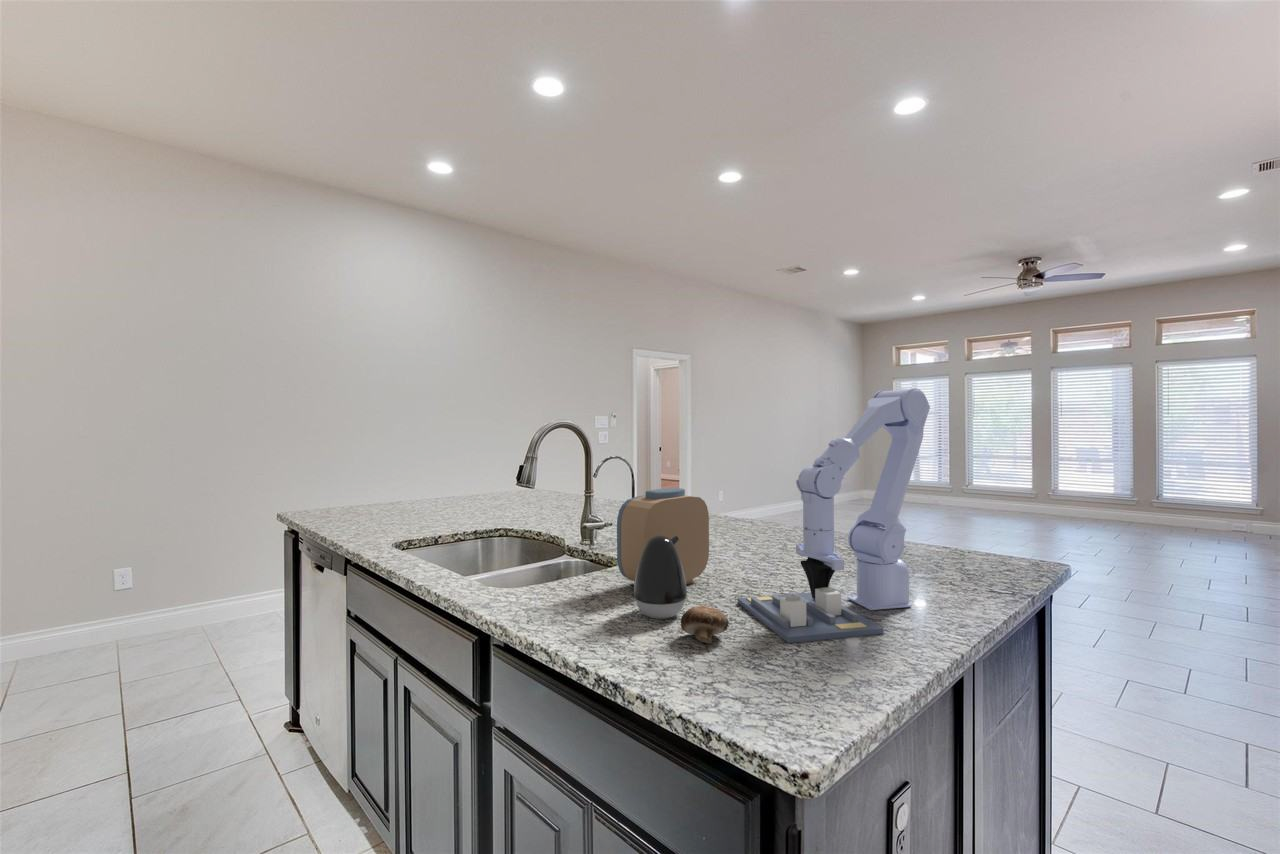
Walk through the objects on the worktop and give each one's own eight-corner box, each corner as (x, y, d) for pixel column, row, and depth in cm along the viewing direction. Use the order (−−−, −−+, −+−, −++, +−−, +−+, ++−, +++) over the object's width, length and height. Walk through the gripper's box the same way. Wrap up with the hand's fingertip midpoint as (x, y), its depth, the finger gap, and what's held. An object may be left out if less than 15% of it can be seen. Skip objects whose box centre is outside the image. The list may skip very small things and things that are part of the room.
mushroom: (713, 634, 91) (709, 596, 95) (672, 644, 95) (670, 607, 99) (738, 646, 96) (734, 609, 100) (699, 655, 100) (696, 619, 104)
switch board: (817, 596, 122) (817, 586, 122) (883, 633, 100) (883, 621, 100) (737, 603, 118) (737, 592, 118) (788, 643, 96) (788, 629, 96)
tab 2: (829, 608, 111) (829, 584, 111) (841, 615, 107) (841, 590, 107) (815, 609, 110) (815, 585, 110) (826, 616, 106) (826, 591, 106)
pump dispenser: (698, 613, 111) (698, 535, 111) (663, 627, 104) (662, 543, 104) (658, 602, 118) (658, 528, 118) (622, 615, 111) (622, 536, 111)
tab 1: (795, 618, 105) (795, 592, 105) (806, 625, 101) (806, 599, 101) (780, 619, 105) (780, 594, 104) (790, 627, 101) (790, 600, 101)
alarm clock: (679, 572, 142) (679, 484, 142) (709, 579, 135) (708, 487, 135) (615, 588, 128) (615, 491, 128) (645, 598, 121) (644, 495, 121)
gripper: (782, 522, 118) (782, 589, 118) (819, 536, 104) (819, 611, 104) (813, 521, 119) (813, 586, 119) (854, 534, 105) (854, 609, 105)
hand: (818, 598), depth 112 cm, fingers closed
